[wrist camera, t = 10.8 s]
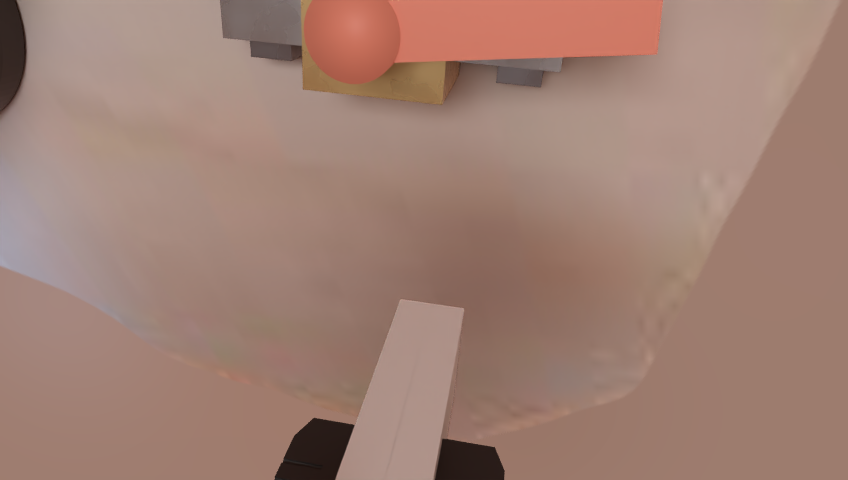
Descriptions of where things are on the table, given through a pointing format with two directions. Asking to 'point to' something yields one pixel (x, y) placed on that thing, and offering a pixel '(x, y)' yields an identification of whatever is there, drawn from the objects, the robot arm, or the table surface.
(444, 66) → the valve
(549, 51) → the lever
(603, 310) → the table surface
